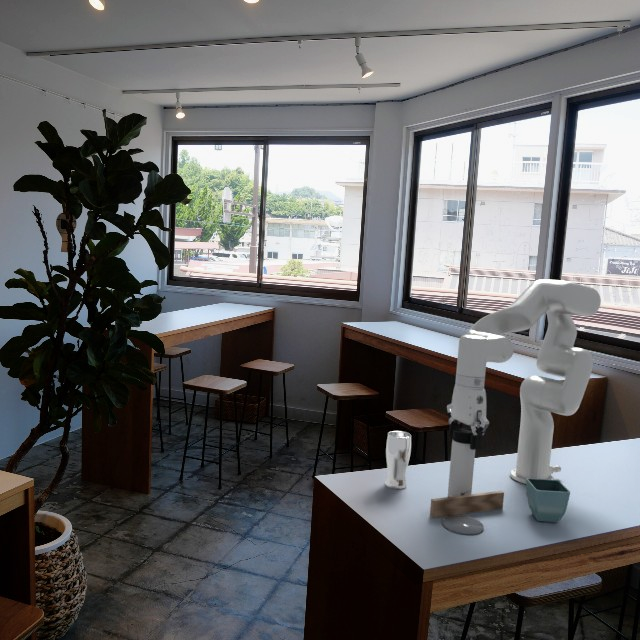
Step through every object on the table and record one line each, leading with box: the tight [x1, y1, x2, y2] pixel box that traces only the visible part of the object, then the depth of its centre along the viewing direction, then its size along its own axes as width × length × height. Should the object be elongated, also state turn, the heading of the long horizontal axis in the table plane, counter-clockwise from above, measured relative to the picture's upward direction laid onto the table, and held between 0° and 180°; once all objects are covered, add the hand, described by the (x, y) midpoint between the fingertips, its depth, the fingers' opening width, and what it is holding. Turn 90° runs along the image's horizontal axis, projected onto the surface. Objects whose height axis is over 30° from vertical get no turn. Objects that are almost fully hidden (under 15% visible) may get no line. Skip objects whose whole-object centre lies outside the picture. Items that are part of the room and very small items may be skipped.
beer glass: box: [384, 430, 412, 490], centre depth 178 cm, size 7×7×15 cm
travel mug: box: [447, 427, 476, 497], centre depth 170 cm, size 6×7×20 cm
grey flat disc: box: [441, 514, 485, 536], centre depth 155 cm, size 10×10×1 cm
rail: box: [429, 490, 505, 519], centre depth 163 cm, size 22×1×4 cm, turn 113°
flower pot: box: [525, 478, 571, 523], centre depth 162 cm, size 9×9×9 cm
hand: (464, 443), depth 169 cm, fingers open, 9 cm apart
